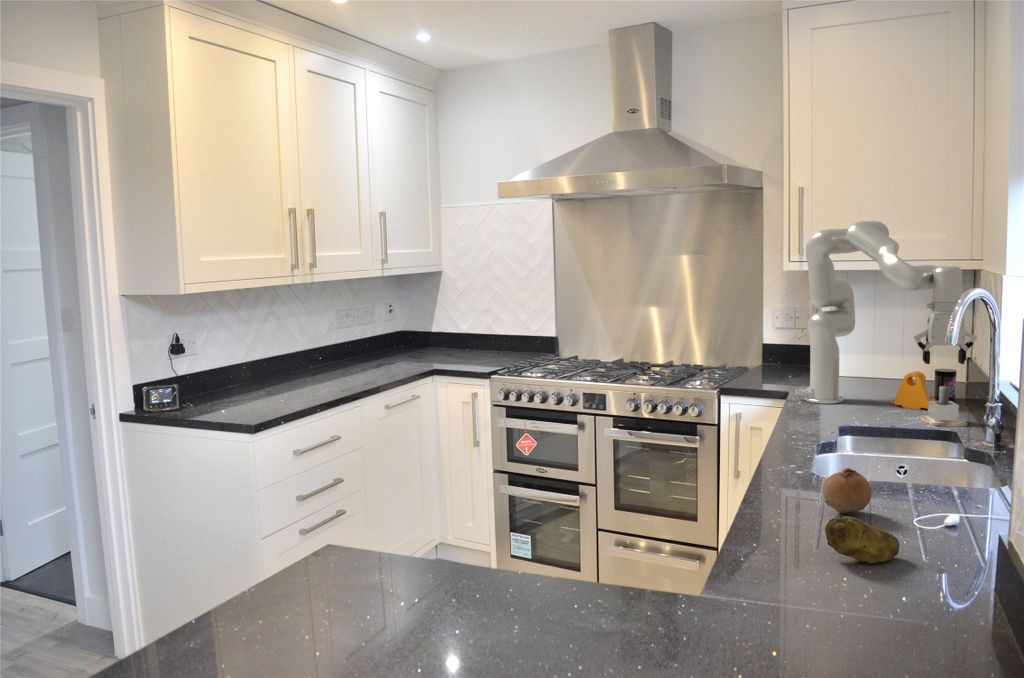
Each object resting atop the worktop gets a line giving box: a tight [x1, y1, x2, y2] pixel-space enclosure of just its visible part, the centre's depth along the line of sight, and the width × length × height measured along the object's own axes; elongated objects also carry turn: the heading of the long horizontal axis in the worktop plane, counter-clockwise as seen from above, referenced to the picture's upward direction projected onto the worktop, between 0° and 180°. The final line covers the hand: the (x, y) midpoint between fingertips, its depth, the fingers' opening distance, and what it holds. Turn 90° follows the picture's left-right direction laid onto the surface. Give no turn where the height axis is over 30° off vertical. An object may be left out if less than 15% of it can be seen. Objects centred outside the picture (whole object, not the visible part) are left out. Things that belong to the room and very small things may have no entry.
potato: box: [824, 515, 900, 564], centre depth 143 cm, size 8×13×8 cm, turn 75°
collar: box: [927, 400, 960, 422], centre depth 243 cm, size 6×6×5 cm
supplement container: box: [933, 368, 958, 402], centre depth 274 cm, size 7×7×10 cm
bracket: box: [893, 370, 937, 410], centre depth 265 cm, size 11×7×12 cm, turn 42°
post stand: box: [919, 386, 968, 427], centre depth 242 cm, size 10×10×11 cm
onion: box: [822, 467, 873, 514], centre depth 167 cm, size 10×9×10 cm
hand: (944, 363), depth 241 cm, fingers open, 9 cm apart
